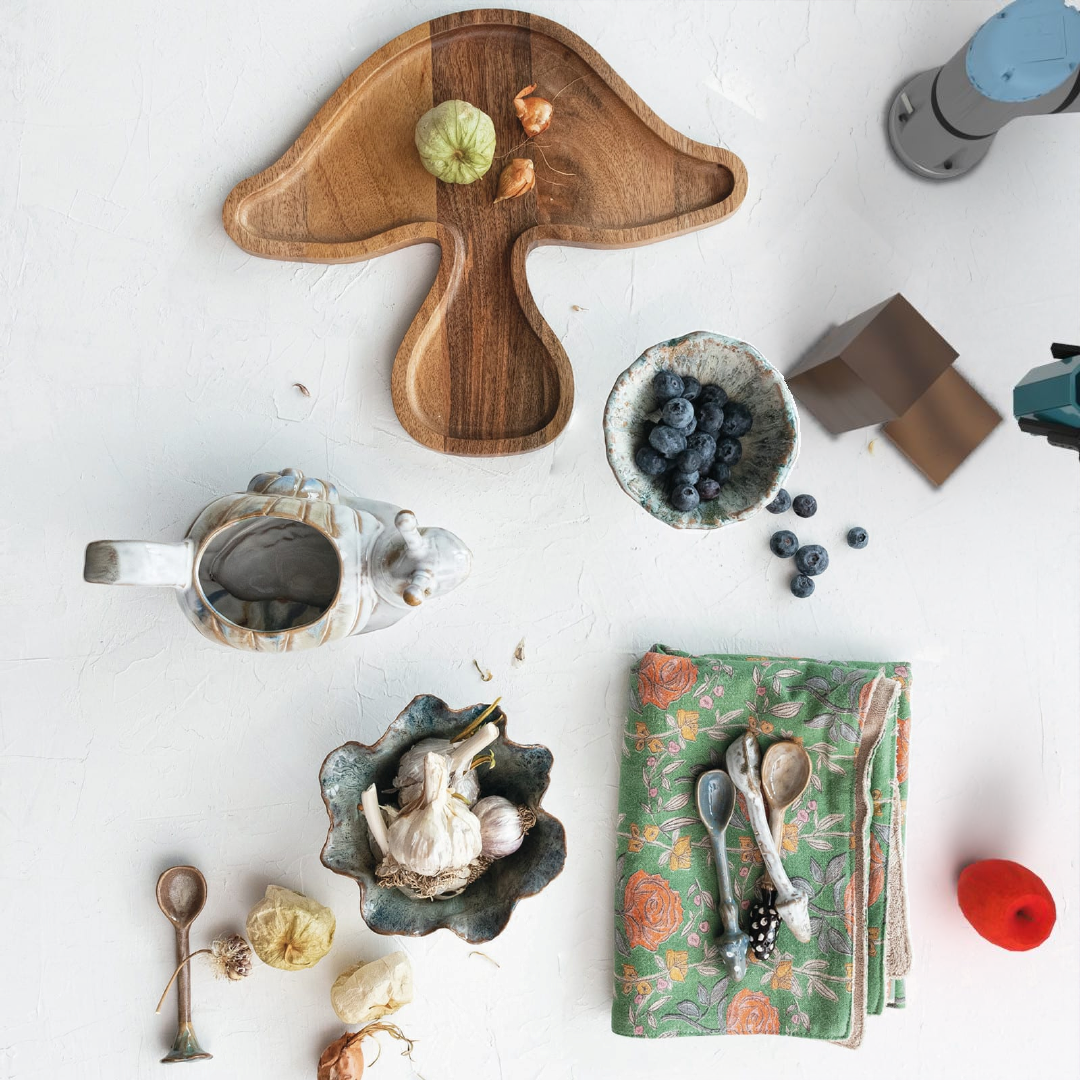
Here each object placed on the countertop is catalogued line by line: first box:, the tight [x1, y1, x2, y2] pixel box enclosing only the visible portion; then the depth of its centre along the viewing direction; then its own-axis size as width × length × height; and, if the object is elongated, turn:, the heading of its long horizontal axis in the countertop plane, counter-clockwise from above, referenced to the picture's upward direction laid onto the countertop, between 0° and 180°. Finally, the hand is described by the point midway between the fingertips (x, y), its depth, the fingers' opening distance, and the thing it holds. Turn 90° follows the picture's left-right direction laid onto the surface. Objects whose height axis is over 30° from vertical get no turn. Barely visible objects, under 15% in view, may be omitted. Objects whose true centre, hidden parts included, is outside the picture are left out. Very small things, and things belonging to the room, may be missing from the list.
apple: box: [956, 858, 1057, 953], centre depth 121 cm, size 12×12×13 cm
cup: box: [1012, 355, 1080, 437], centre depth 97 cm, size 8×8×10 cm
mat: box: [879, 364, 1004, 488], centre depth 125 cm, size 14×12×1 cm
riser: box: [783, 292, 961, 436], centre depth 115 cm, size 11×11×20 cm
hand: (1037, 387), depth 99 cm, fingers closed on cup, 9 cm apart
